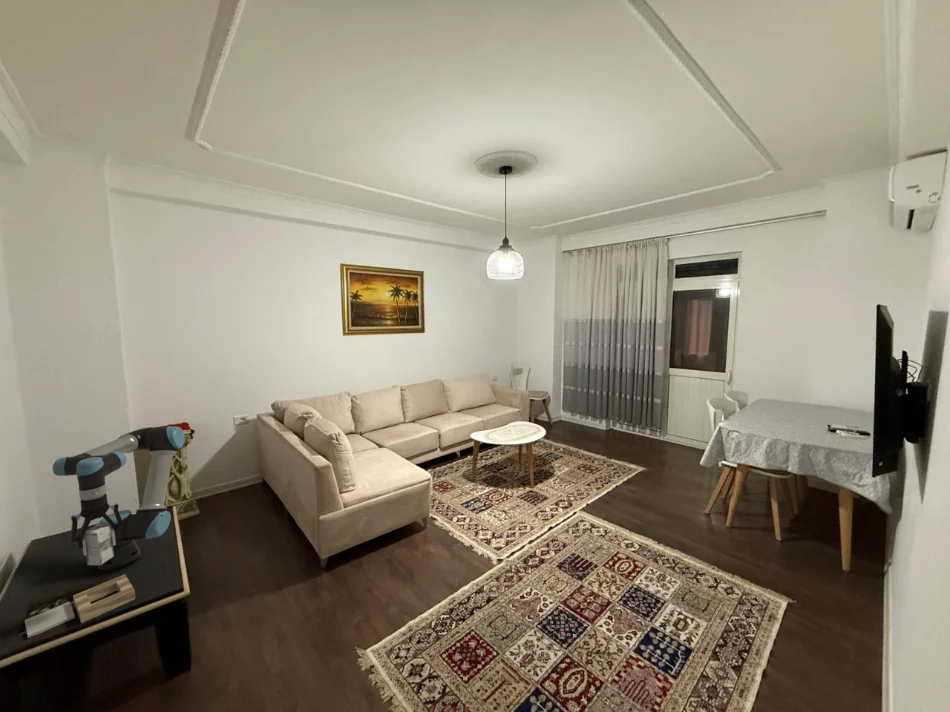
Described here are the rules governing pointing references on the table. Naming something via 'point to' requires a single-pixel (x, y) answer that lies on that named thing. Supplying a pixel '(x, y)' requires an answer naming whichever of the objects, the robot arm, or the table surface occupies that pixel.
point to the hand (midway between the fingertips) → (99, 548)
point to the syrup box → (99, 544)
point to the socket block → (104, 605)
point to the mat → (49, 619)
